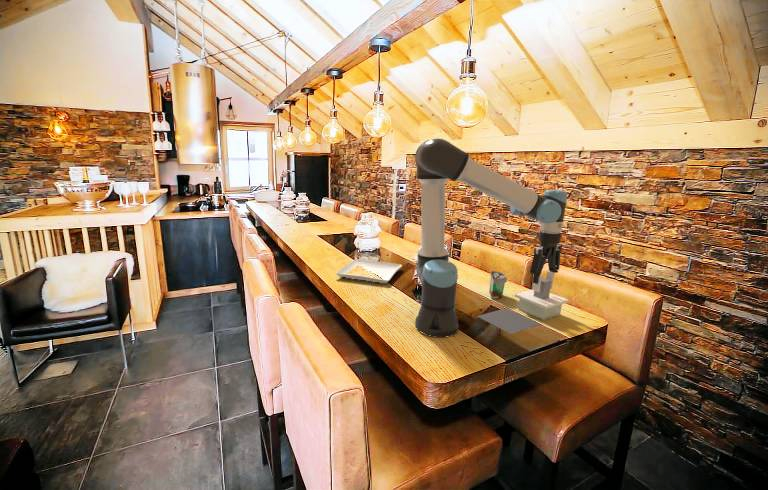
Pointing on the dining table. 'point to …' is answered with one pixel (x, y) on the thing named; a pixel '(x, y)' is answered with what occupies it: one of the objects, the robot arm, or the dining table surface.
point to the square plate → (376, 267)
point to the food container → (497, 284)
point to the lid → (542, 296)
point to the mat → (508, 320)
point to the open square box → (539, 310)
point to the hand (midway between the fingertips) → (542, 289)
